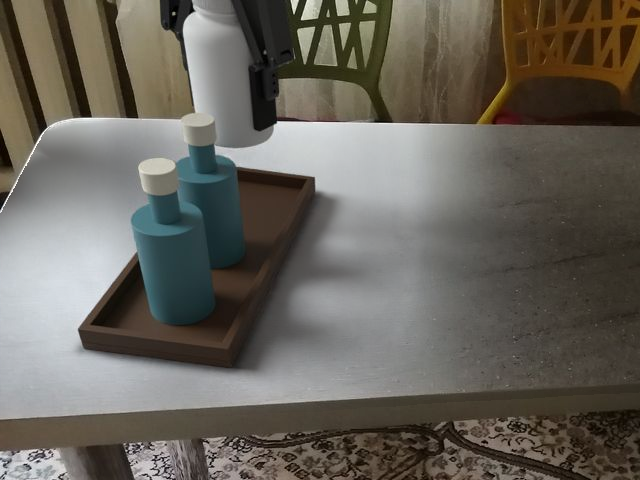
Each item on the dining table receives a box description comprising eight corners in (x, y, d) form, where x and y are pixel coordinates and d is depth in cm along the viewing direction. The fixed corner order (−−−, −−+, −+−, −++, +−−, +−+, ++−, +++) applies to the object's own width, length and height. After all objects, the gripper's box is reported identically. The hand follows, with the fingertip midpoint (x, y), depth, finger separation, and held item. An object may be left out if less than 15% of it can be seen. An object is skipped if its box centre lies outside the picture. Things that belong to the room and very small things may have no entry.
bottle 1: (203, 329, 70) (179, 187, 60) (140, 321, 70) (106, 178, 60) (224, 292, 75) (205, 154, 65) (164, 284, 75) (136, 145, 65)
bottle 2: (235, 272, 77) (218, 137, 68) (178, 264, 77) (153, 128, 68) (252, 241, 82) (239, 110, 72) (198, 234, 82) (178, 102, 72)
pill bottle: (184, 128, 81) (160, -21, 71) (250, 112, 85) (237, -30, 75) (221, 157, 77) (201, 3, 67) (288, 139, 81) (279, -8, 71)
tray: (231, 368, 68) (228, 349, 66) (83, 348, 68) (77, 329, 66) (315, 193, 93) (315, 176, 91) (207, 179, 93) (204, 162, 91)
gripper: (330, -119, 64) (334, 131, 79) (153, -161, 70) (188, 77, 85) (271, -109, 59) (287, 157, 74) (86, -155, 65) (136, 97, 80)
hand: (234, 114), depth 79 cm, fingers closed on pill bottle, 8 cm apart
